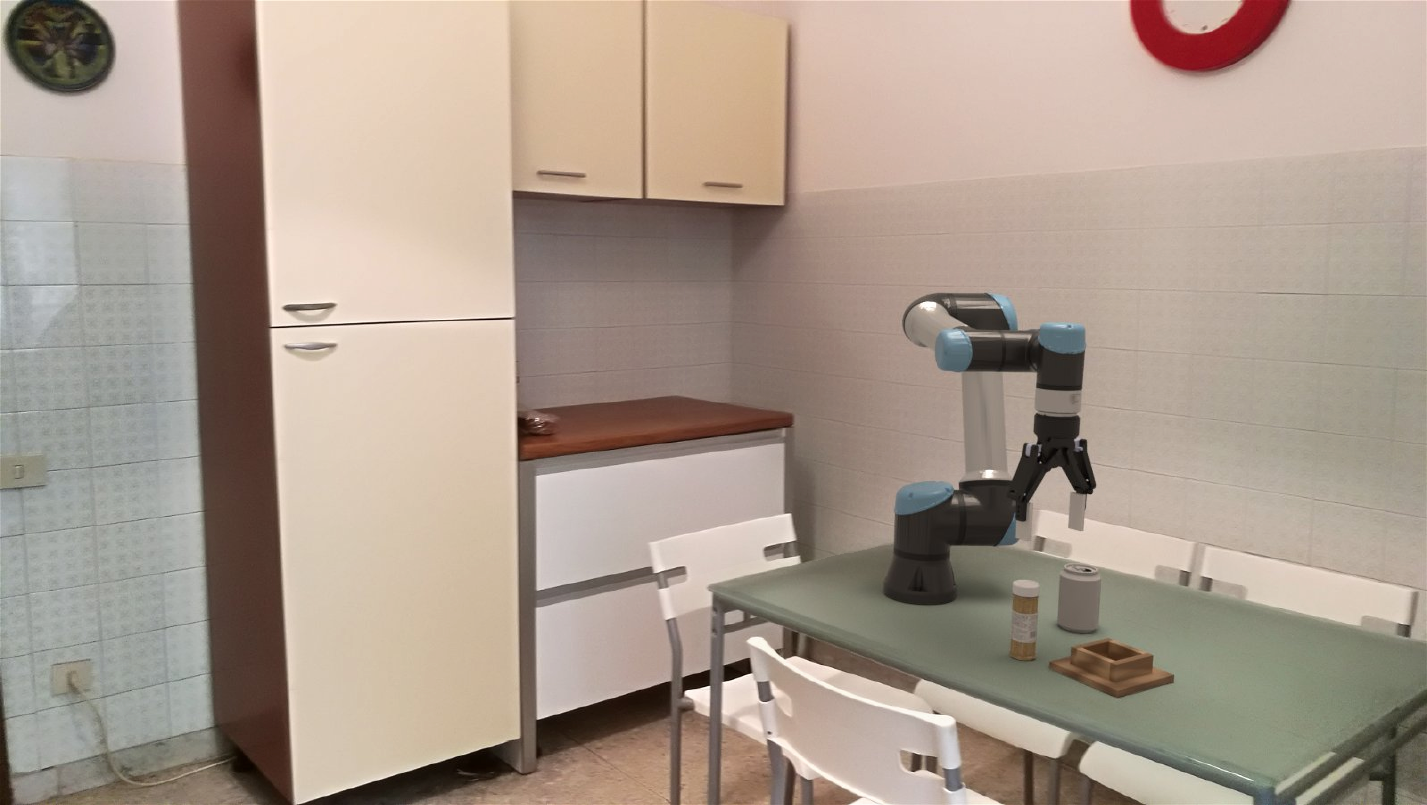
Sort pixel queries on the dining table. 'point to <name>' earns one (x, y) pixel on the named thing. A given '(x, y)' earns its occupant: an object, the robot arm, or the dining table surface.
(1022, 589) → the sprinkles bottle
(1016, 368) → the robot arm
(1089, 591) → the can
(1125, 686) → the holder
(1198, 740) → the dining table surface
